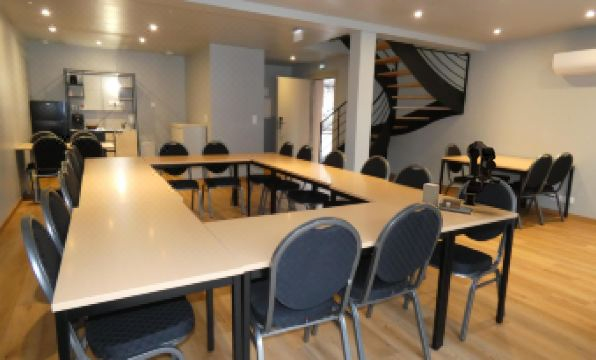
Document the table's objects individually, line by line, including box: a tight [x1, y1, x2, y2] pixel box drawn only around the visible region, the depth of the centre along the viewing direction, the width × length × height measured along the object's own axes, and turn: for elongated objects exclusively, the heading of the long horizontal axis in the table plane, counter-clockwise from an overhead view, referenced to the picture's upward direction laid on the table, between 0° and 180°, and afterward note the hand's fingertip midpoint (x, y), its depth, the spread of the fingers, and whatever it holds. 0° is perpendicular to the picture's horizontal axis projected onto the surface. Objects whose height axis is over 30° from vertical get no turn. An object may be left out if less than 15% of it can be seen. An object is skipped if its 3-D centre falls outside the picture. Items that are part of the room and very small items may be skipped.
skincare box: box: [421, 182, 440, 208], centre depth 234 cm, size 8×6×15 cm
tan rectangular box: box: [442, 197, 462, 209], centre depth 232 cm, size 5×10×5 cm, turn 63°
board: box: [438, 197, 472, 216], centre depth 231 cm, size 15×18×5 cm
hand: (480, 192), depth 228 cm, fingers closed
